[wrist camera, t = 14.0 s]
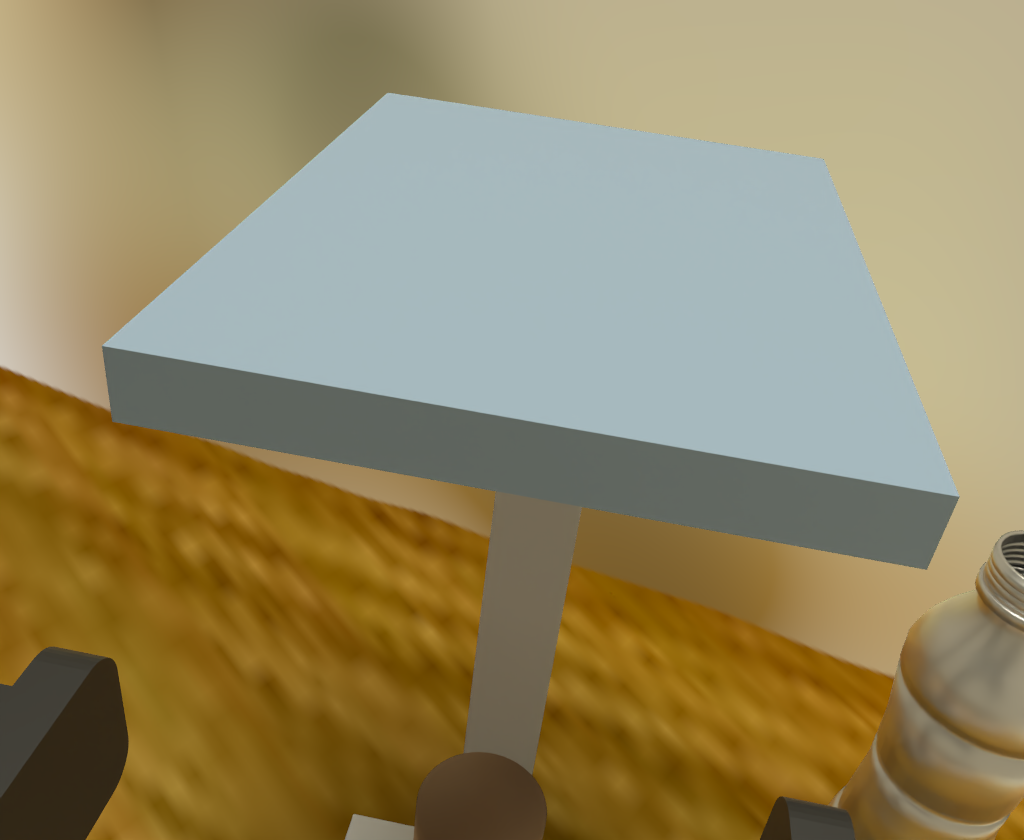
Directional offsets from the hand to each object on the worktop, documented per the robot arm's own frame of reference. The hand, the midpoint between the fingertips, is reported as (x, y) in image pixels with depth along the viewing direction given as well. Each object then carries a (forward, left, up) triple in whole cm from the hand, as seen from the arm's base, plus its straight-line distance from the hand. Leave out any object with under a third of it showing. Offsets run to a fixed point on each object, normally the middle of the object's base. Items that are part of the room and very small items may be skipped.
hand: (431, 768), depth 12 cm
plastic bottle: (+7, +26, -30) cm, 41 cm away
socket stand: (-6, +13, -30) cm, 33 cm away
